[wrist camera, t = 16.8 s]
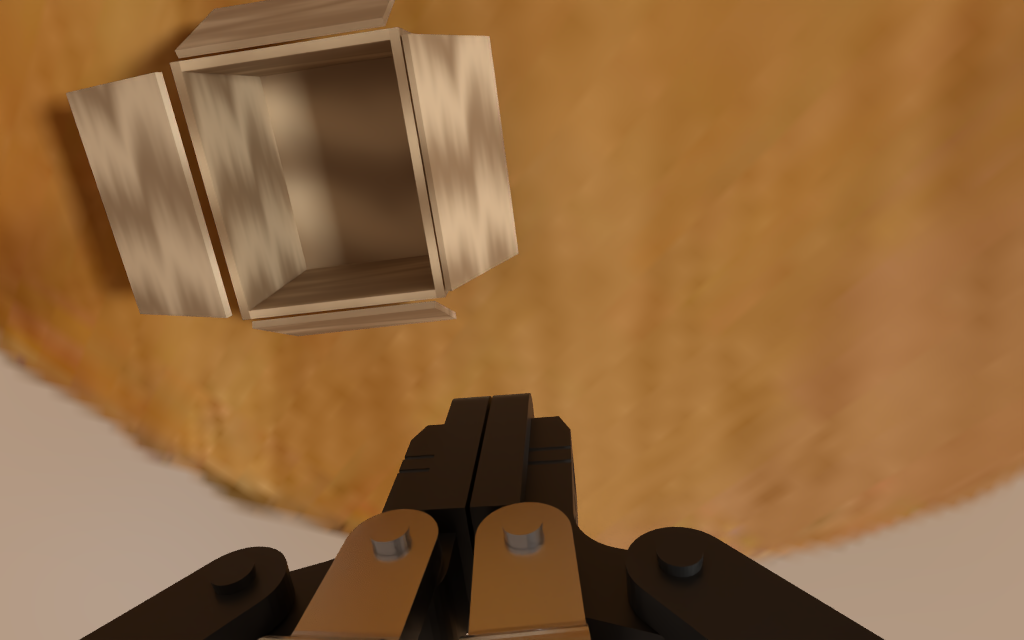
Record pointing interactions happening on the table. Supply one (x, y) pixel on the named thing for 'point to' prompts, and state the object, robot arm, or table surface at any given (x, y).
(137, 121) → the front flap
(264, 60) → the carton
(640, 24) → the table surface
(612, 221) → the table surface
